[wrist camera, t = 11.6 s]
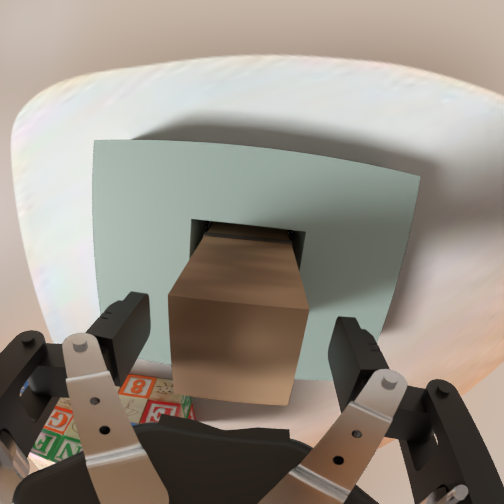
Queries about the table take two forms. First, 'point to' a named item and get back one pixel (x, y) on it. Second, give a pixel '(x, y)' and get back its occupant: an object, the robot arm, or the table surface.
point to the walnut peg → (238, 317)
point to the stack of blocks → (136, 407)
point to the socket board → (250, 213)
